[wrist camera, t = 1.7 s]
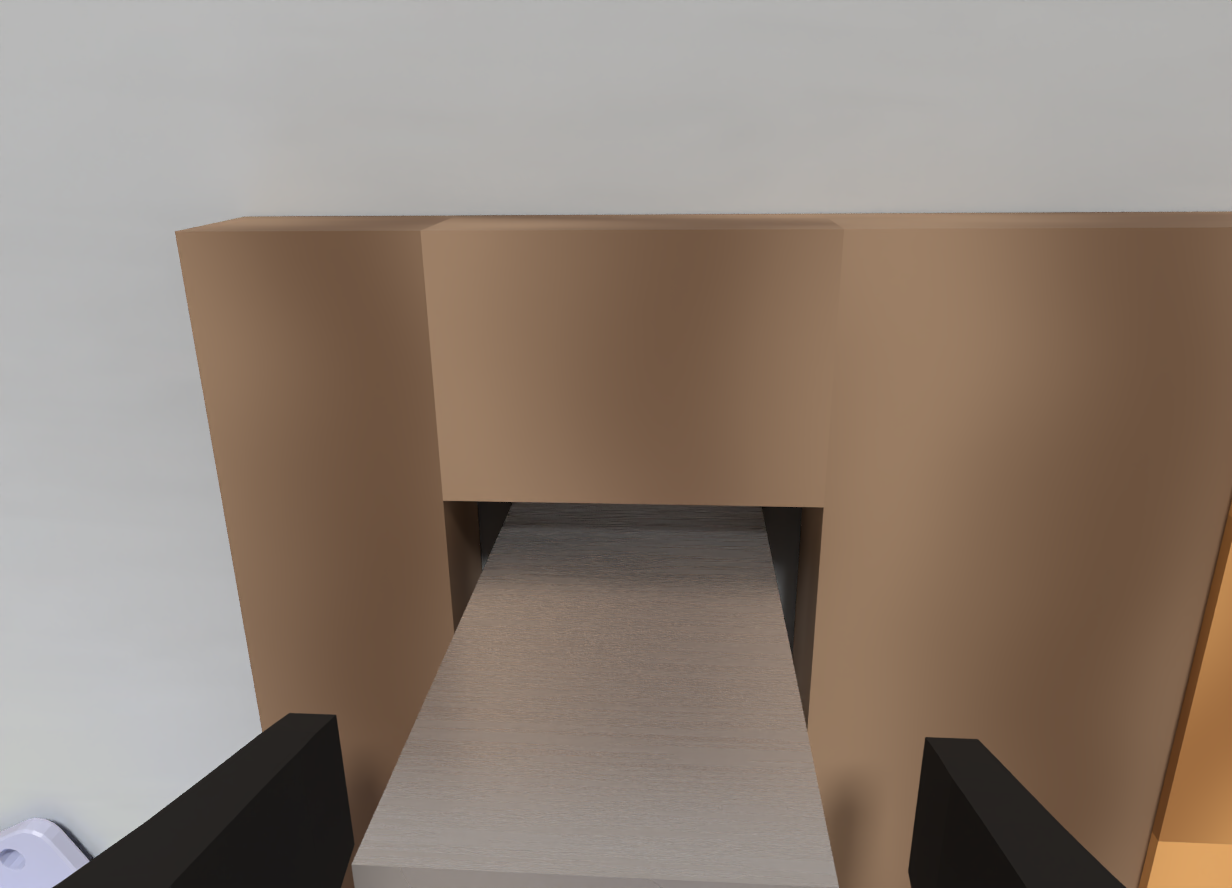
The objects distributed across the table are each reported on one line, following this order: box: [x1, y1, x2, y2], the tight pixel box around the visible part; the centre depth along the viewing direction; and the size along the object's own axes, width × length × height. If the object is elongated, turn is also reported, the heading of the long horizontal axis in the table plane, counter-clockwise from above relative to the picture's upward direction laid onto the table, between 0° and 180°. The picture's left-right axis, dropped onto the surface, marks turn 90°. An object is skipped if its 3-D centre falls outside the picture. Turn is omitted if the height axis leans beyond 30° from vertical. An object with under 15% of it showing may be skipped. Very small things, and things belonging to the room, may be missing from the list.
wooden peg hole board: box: [175, 212, 1232, 888], centre depth 14 cm, size 24×13×2 cm, turn 90°
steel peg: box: [351, 502, 839, 888], centre depth 12 cm, size 4×4×8 cm
